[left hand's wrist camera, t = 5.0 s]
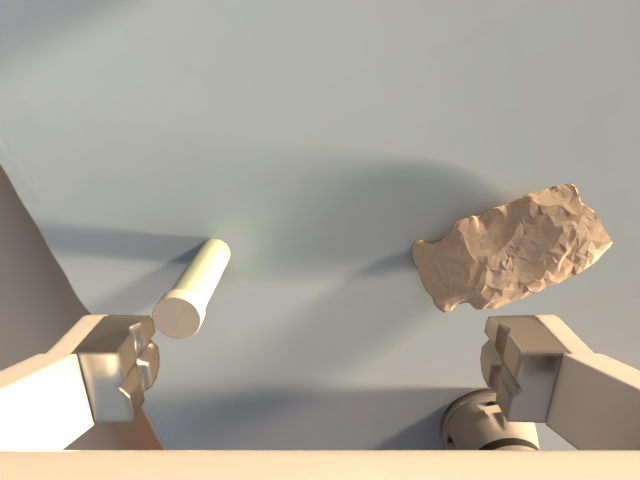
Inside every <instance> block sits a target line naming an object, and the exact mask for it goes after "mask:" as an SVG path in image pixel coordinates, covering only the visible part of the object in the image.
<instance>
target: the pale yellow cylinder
mask: <svg viewBox="0 0 640 480" xmlns="http://www.w3.org/2000/svg"><path fill="white" fill-rule="evenodd" d="M229 259H230V249H229V247H228V246H227V245H226V244H225V243H224V242H223V241H221V240H218V239H210V240H207V241H206V242H204V243H203V245H202V246H201V247H200V249H199V250H198V252H197V253H196V255H195V256H194V257H193V259H192V260H191V262H190V263H189V265H188V266H187V267H186V269H185V270H184V272H183V273H182V275H181V276H180V278H179V279H178V280H177V282H176V283H175V285H174V286H173V288H172V289H171V290H176V289H182V290H187V291H190V292H192V293H194V294H195V295H196V296H198V297H199V298H200V300H201V301H202V303H203V305H204V308H205V307H206V305H207V303H208V301H209V299H210V297H211V295H212V293H213V291H214V289H215V287H216V285H217V283H218V281H219V279H220V277H221V275H222V273H223V271H224V269H225V267H226V265H227V263H228V261H229ZM171 290H170V291H171Z"/></svg>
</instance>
